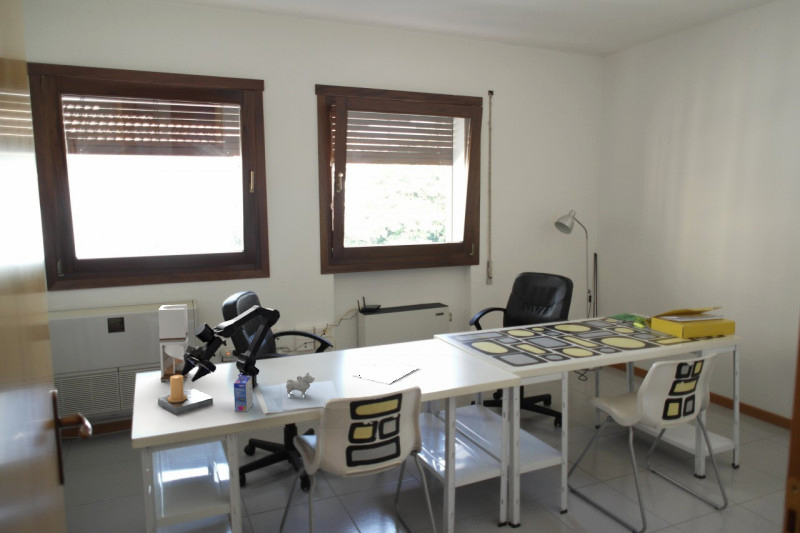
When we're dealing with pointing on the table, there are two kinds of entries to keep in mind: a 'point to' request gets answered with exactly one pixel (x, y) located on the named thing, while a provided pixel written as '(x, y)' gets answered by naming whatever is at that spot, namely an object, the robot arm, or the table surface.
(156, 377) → the table surface
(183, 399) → the orange flanged peg
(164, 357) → the white dispenser
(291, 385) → the grey dog figurine
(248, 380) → the ink cartridge box
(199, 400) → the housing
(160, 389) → the table surface
